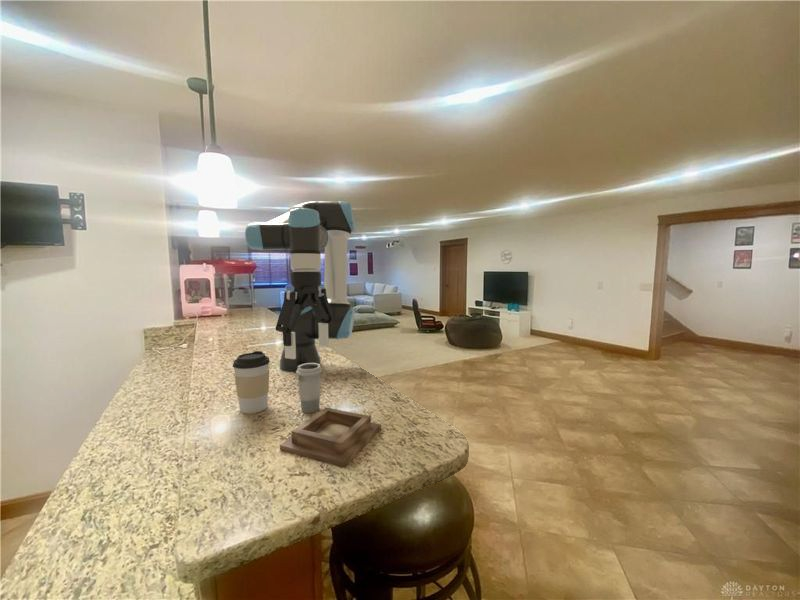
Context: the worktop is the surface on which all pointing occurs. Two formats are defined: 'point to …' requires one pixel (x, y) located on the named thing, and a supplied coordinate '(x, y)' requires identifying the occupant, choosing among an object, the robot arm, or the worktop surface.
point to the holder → (332, 436)
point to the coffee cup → (252, 381)
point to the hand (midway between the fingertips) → (308, 351)
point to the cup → (309, 386)
